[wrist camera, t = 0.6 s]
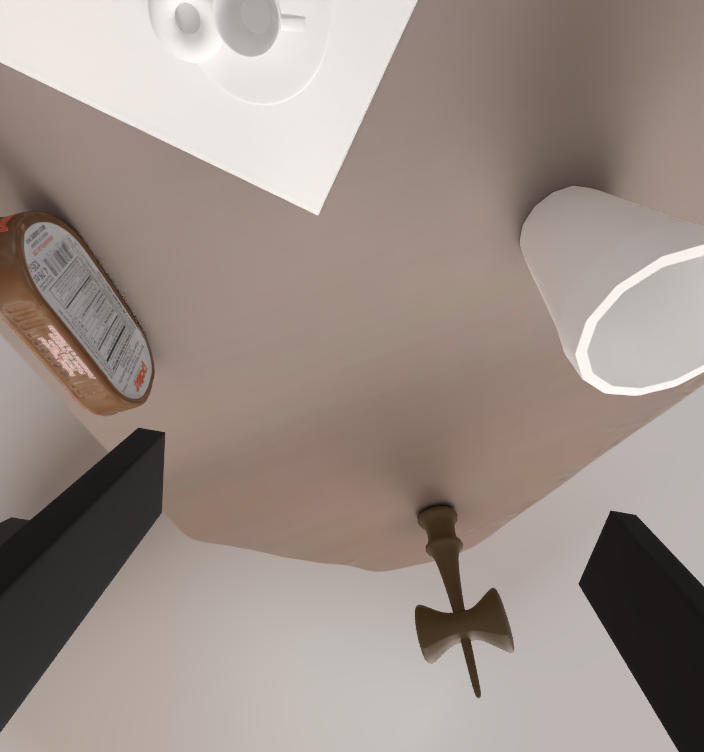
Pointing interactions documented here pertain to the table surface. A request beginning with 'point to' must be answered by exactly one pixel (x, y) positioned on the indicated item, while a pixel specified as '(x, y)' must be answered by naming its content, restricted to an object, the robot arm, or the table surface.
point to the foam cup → (619, 288)
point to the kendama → (457, 601)
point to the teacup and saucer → (220, 75)
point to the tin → (72, 314)
